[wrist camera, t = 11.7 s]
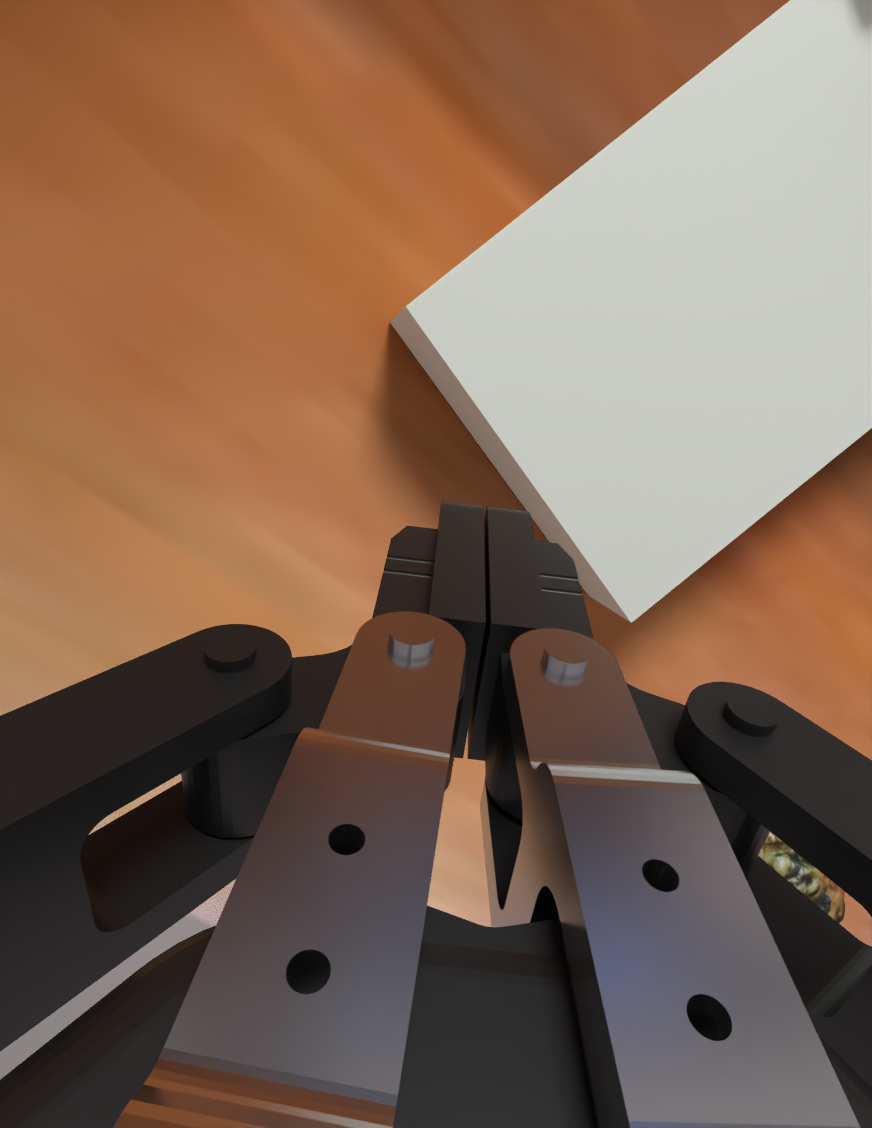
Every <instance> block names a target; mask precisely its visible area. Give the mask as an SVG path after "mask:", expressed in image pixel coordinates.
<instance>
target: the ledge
mask: <svg viewBox="0 0 872 1128" xmlns="http://www.w3.org/2000/svg"><path fill="white" fill-rule="evenodd" d="M390 323H391V325H392V326H393V327H394V329H395V330H396V332H397V333H398V334H399V336H400V337H401V338H402V340H403V341H404V343H405V344H406V345H407V347H408V348H409V349H410V351H411V352H412V354H413V355H414V356H415V358H416V359H417V360H418V362H419V363H420V365H421V366H422V367H423V369H424V370H425V371H426V373H427V374H428V376H429V377H430V378H431V380H432V381H433V383H434V384H435V385H436V387H437V388H438V389H439V391H440V392H441V394H442V395H443V396H444V398H445V399H446V400H447V402H448V403H449V405H450V406H451V407H452V409H453V410H454V411H455V413H456V414H457V416H458V417H459V418H460V420H461V421H462V422H463V424H464V425H465V427H466V428H467V429H468V431H469V432H470V433H471V435H472V436H473V438H474V439H475V440H476V442H477V443H478V445H479V446H480V447H481V449H482V450H483V451H484V453H485V454H486V456H487V457H488V458H489V460H490V461H491V462H492V464H493V465H494V467H495V468H496V469H497V471H498V472H499V473H500V475H501V476H502V478H503V479H504V480H505V482H506V483H507V484H508V486H509V487H510V489H511V490H512V491H513V493H514V494H515V495H516V497H517V498H518V500H519V501H520V502H521V504H522V505H523V506H524V508H525V509H526V511H528V512H530V515H531V518H532V519H533V520H534V522H535V523H536V524H537V526H538V527H539V529H540V530H541V531H542V533H543V534H544V535H545V537H546V538H547V540H548V541H549V542H551V543H558V544H559V545H560V546H561V547H562V548H563V549H564V550H565V551H566V552H567V553H568V555H569V556H570V557H571V558H572V559H573V560H574V563H575V567H576V571H577V575H578V581H579V583H580V585H581V586H582V588H583V589H584V591H585V592H586V593H587V595H588V596H590V597H591V598H593V599H594V600H596V601H598V602H599V603H601V604H602V605H604V606H605V607H607V608H609V609H610V610H612V611H613V612H615V613H616V614H618V615H620V616H621V617H623V618H624V619H626V620H628V621H629V622H631V623H632V622H633V621H634V620H636V619H637V618H638V617H639V616H640V615H642V614H643V613H644V612H645V611H647V610H648V609H649V608H650V607H652V606H653V605H654V604H655V603H656V602H658V601H659V600H660V599H661V598H663V597H664V596H665V595H666V594H668V593H669V592H670V591H671V590H672V589H674V588H675V587H676V586H677V585H679V584H680V583H681V582H682V581H684V580H685V579H686V578H687V577H689V576H690V575H691V574H692V573H693V572H695V571H696V570H697V569H698V568H700V567H701V566H702V565H703V564H705V563H706V562H707V561H708V560H709V559H711V558H712V557H713V556H714V555H716V554H717V553H718V552H719V551H721V550H722V549H723V548H724V547H725V546H727V545H728V544H729V543H730V542H732V541H733V540H734V539H735V538H737V537H738V536H739V535H740V534H742V533H743V532H744V531H745V530H746V529H748V528H749V527H750V526H751V525H753V524H754V523H755V522H756V521H758V520H759V519H760V518H761V517H762V516H764V515H765V514H766V513H767V512H769V511H770V510H771V509H772V508H774V507H775V506H776V505H777V504H778V503H780V502H781V501H782V500H783V499H785V498H786V497H787V496H788V495H790V494H791V493H792V492H793V491H795V490H796V489H797V488H798V487H799V486H801V485H802V484H803V483H804V482H806V481H807V480H808V479H809V478H811V477H812V476H813V475H814V474H815V473H817V472H818V471H819V470H820V469H822V468H823V467H824V466H825V465H827V464H828V463H829V462H830V461H831V460H833V459H834V458H835V457H836V456H838V455H839V454H840V453H841V452H843V451H844V450H845V449H846V448H848V447H849V446H850V445H851V444H852V443H854V442H855V441H856V440H857V439H859V438H860V437H861V436H862V435H864V434H865V433H866V432H867V431H868V430H870V429H871V428H872V0H790V1H789V2H788V3H786V4H785V5H784V6H783V7H781V8H780V9H779V10H777V11H776V12H775V13H774V14H772V15H771V16H770V17H769V18H767V19H766V20H765V21H764V22H762V23H761V24H760V25H759V26H757V27H756V28H755V29H754V30H752V31H751V32H750V33H749V34H747V35H746V36H745V37H744V38H742V39H741V40H740V41H739V42H737V43H736V44H735V45H734V46H732V47H731V48H730V49H728V50H727V51H726V52H725V53H723V54H722V55H721V56H720V57H718V58H717V59H716V60H715V61H713V62H712V63H711V64H710V65H708V66H707V67H706V68H705V69H703V70H702V71H701V72H700V73H698V74H697V75H696V76H695V77H693V78H692V79H691V80H690V81H688V82H687V83H686V84H685V85H683V86H682V87H681V88H679V89H678V90H677V91H676V92H674V93H673V94H672V95H671V96H669V97H668V98H667V99H666V100H664V101H663V102H662V103H661V104H659V105H658V106H657V107H656V108H654V109H653V110H652V111H651V112H649V113H648V114H647V115H646V116H644V117H643V118H642V119H641V120H639V121H638V122H637V123H636V124H634V125H633V126H632V127H631V128H629V129H628V130H627V131H625V132H624V133H623V134H622V135H620V136H619V137H618V138H617V139H615V140H614V141H613V142H612V143H610V144H609V145H608V146H607V147H605V148H604V149H603V150H602V151H600V152H599V153H598V154H597V155H595V156H594V157H593V158H592V159H590V160H589V161H588V162H587V163H585V164H584V165H583V166H582V167H580V168H579V169H578V170H576V171H575V172H574V173H573V174H571V175H570V176H569V177H568V178H566V179H565V180H564V181H563V182H561V183H560V184H559V185H558V186H556V187H555V188H554V189H553V190H551V191H550V192H549V193H548V194H546V195H545V196H544V197H543V198H541V199H540V200H539V201H538V202H536V203H535V204H534V205H533V206H531V207H530V208H529V209H527V210H526V211H525V212H524V213H522V214H521V215H520V216H519V217H517V218H516V219H515V220H514V221H512V222H511V223H510V224H509V225H507V226H506V227H505V228H504V229H502V230H501V231H500V232H499V233H497V234H496V235H495V236H494V237H492V238H491V239H490V240H489V241H487V242H486V243H485V244H484V245H482V246H481V247H480V248H478V249H477V250H476V251H475V252H473V253H472V254H471V255H470V256H468V257H467V258H466V259H465V260H463V261H462V262H461V263H460V264H458V265H457V266H456V267H455V268H453V269H452V270H451V271H450V272H448V273H447V274H446V275H445V276H443V277H442V278H441V279H440V280H438V281H437V282H436V283H435V284H433V285H432V286H431V287H429V288H428V289H427V290H426V291H424V292H423V293H422V294H421V295H419V296H418V297H417V298H416V299H414V300H413V301H412V302H411V303H409V304H408V305H407V306H406V307H405V308H404V309H403V310H402V311H401V312H400V313H398V314H397V315H396V316H395V317H394V318H393V319H392V320H391V321H390Z"/></svg>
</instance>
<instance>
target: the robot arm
mask: <svg viewBox="0 0 872 1128" xmlns="http://www.w3.org/2000/svg"><path fill="white" fill-rule="evenodd" d="M581 593H582V591H581V587H580V583H579V581H578V575H577V571H576V567H575V563H574V560H573V559H572V558H571V557H570V556H569V555H568V553H567V552H566V551H565V550H564V549H563V548H562V547H561V546H560V545H559V544H558V543H551V542H542V541H534V534H533V528H532V521H531V515H530V512H528V511H519V510H511V509H503V508H494V507H487V508H486V512H485V516H484V506H476V505H468V504H459V503H451V502H442V501H441V509H440V518H439V526H438V529H430V528H422V527H413V526H406V527H405V528H404V529H403V530H401V531H400V532H399V533H398V534H396V535H395V536H394V537H393V538H391V542H390V546H389V550H388V554H387V559H386V563H385V567H384V572H383V575H382V580H381V584H380V588H379V592H378V596H377V601H376V605H375V609H374V613H373V617H372V619H370V620H369V621H367V622H366V623H364V624H363V625H362V627H361V628H360V629H359V631H358V632H357V634H356V637H355V639H354V642H353V644H352V645H351V646H349V647H347V648H345V649H342V650H339V651H337V652H333V653H329V654H323V655H315V656H305V657H295V658H292V654H291V650H290V647H289V645H288V644H287V643H286V641H285V640H284V639H283V638H281V637H280V636H279V635H277V634H276V633H274V632H272V631H270V630H267V629H265V628H261V627H258V626H253V625H245V624H229V625H220V626H215V627H211V628H207V629H204V630H201V631H198V632H196V633H193V634H191V635H189V636H186V637H184V638H182V639H179V640H177V641H175V642H172V643H170V644H168V645H165V646H163V647H161V648H158V649H156V650H154V651H151V652H149V653H147V654H144V655H142V656H140V657H137V658H135V659H133V660H130V661H128V662H126V663H123V664H121V665H119V666H116V667H114V668H112V669H109V670H107V671H104V672H102V673H100V674H97V675H95V676H93V677H90V678H88V679H86V680H83V681H81V682H79V683H76V684H74V685H72V686H69V687H67V688H65V689H62V690H60V691H58V692H55V693H53V694H51V695H48V696H46V697H44V698H41V699H39V700H37V701H34V702H32V703H30V704H27V705H25V706H23V707H20V708H18V709H16V710H13V711H11V712H8V713H6V714H4V715H1V716H0V1051H1V1050H3V1049H4V1048H6V1047H7V1046H8V1045H10V1044H11V1043H13V1042H14V1041H15V1040H17V1039H18V1038H19V1037H21V1036H22V1035H23V1034H25V1033H26V1032H28V1031H29V1030H30V1029H32V1028H33V1027H34V1026H35V1025H37V1024H38V1023H40V1022H41V1021H42V1020H44V1019H45V1018H46V1017H48V1016H49V1015H51V1014H52V1013H53V1012H55V1011H56V1010H57V1009H59V1008H60V1007H62V1006H63V1005H64V1004H66V1003H67V1002H68V1001H69V1000H71V999H72V998H74V997H75V996H77V995H78V994H79V993H80V992H82V991H83V990H85V989H86V988H87V987H89V986H90V985H92V984H93V983H94V982H95V981H97V980H98V979H100V978H101V977H102V976H104V975H105V974H107V973H108V972H109V971H110V970H112V969H113V968H115V967H116V966H117V965H119V964H120V963H121V962H123V961H124V960H126V959H127V958H128V957H130V956H131V955H132V954H134V953H135V952H137V951H138V950H139V949H140V948H142V947H143V946H145V945H146V944H147V943H149V942H150V941H151V940H153V939H154V938H156V937H157V936H158V935H159V934H161V933H162V932H164V931H165V930H166V929H168V928H169V927H171V926H172V925H173V924H175V923H176V922H177V921H179V920H180V919H181V918H183V917H184V916H186V915H187V914H188V913H190V912H191V911H192V910H194V909H195V908H196V907H198V906H199V905H201V904H202V903H203V902H205V901H206V900H207V899H209V898H210V897H211V896H213V895H214V894H216V893H217V892H218V891H220V890H221V889H222V888H224V887H225V886H226V885H228V884H229V883H231V882H232V881H233V880H235V879H236V878H237V879H236V881H235V883H234V886H233V888H232V890H231V893H230V895H229V897H228V900H227V902H226V904H225V906H224V909H223V911H222V913H221V916H220V918H219V920H218V923H217V925H216V926H214V927H211V928H209V929H206V930H203V931H201V932H199V933H197V934H195V935H193V936H191V937H189V938H187V939H186V940H183V941H181V942H179V943H177V944H176V945H174V946H173V947H171V948H170V949H168V950H166V951H165V952H163V953H162V954H160V955H159V956H157V957H156V958H154V959H152V960H151V961H150V962H148V963H147V964H146V965H144V966H143V967H142V968H140V969H139V970H138V971H136V972H135V973H134V974H132V975H131V976H130V977H129V978H127V979H126V980H125V981H124V982H123V983H121V984H120V985H119V986H117V987H116V988H115V989H114V990H112V991H111V992H110V993H109V994H107V995H106V996H105V997H104V998H102V999H101V1000H100V1001H99V1002H97V1003H96V1004H95V1005H94V1006H92V1007H91V1008H90V1009H89V1010H88V1011H86V1012H85V1013H84V1014H82V1015H81V1016H80V1017H79V1018H77V1019H76V1020H75V1021H73V1022H72V1023H71V1024H70V1025H68V1026H67V1027H66V1028H65V1029H64V1030H62V1031H61V1032H60V1033H58V1034H57V1035H56V1036H55V1037H53V1038H52V1039H51V1040H50V1041H48V1042H47V1043H46V1044H45V1045H43V1046H42V1047H41V1048H40V1049H39V1050H37V1051H36V1052H35V1053H33V1054H32V1055H31V1056H30V1057H28V1058H27V1059H26V1060H25V1061H23V1062H22V1063H21V1064H20V1065H18V1066H17V1067H16V1068H15V1069H13V1070H12V1071H11V1072H10V1073H8V1074H7V1075H6V1076H5V1077H3V1078H2V1079H1V1080H0V1128H872V947H871V946H869V945H866V944H865V943H863V942H861V941H860V940H858V939H857V938H856V937H854V936H853V935H852V934H851V933H850V932H848V931H847V930H846V929H845V928H844V927H842V926H841V925H840V924H839V923H838V922H837V921H835V920H834V919H833V918H832V917H831V916H829V915H828V914H827V913H826V912H825V911H823V910H822V909H821V908H820V907H819V906H817V905H816V904H815V903H814V902H813V901H811V900H810V899H809V898H808V897H807V896H805V895H804V894H803V893H802V892H801V891H800V890H798V889H797V888H796V887H795V886H794V885H792V884H791V883H790V882H789V881H788V880H786V879H785V878H784V877H783V876H782V875H780V874H779V873H778V872H777V871H776V870H774V869H773V868H772V867H771V866H770V865H769V864H767V863H766V862H765V861H764V860H763V859H761V858H760V857H759V856H758V855H759V853H760V851H761V849H762V847H763V845H764V843H765V841H766V839H767V837H768V835H769V833H770V832H771V833H773V834H774V835H775V836H776V837H778V838H779V839H780V840H781V841H783V842H784V843H785V844H786V845H788V846H789V847H790V848H791V849H793V850H794V851H795V852H796V853H798V854H799V855H800V856H801V857H803V858H804V859H805V860H806V861H808V862H809V863H810V864H811V865H813V866H814V867H815V868H816V869H818V870H819V871H820V872H821V873H823V874H824V875H825V876H826V877H828V878H829V879H830V880H831V881H833V882H834V883H835V884H836V885H838V886H839V887H840V888H841V889H843V890H844V891H845V892H846V893H847V894H849V895H850V896H851V897H852V898H854V899H855V900H856V901H857V902H858V903H860V904H861V905H862V906H863V907H864V908H865V909H866V910H867V912H868V913H869V914H870V915H871V917H872V760H870V759H869V758H867V757H865V756H864V755H862V754H861V753H859V752H858V751H856V750H855V749H853V748H852V747H850V746H849V745H847V744H845V743H844V742H842V741H841V740H839V739H838V738H836V737H835V736H833V735H832V734H830V733H829V732H827V731H825V730H824V729H822V728H821V727H819V726H818V725H816V724H815V723H813V722H812V721H810V720H809V719H807V718H805V717H804V716H802V715H801V714H799V713H798V712H796V711H795V710H793V709H792V708H790V707H789V706H787V705H785V704H784V703H782V702H781V701H779V700H777V699H776V698H774V697H772V696H770V695H768V694H766V693H764V692H762V691H760V690H757V689H754V688H752V687H748V686H745V685H741V684H736V683H730V682H711V683H706V684H703V685H700V686H698V687H697V688H695V689H694V690H693V691H692V692H691V693H690V695H689V697H688V700H687V703H686V705H683V704H680V703H677V702H674V701H671V700H668V699H664V698H661V697H658V696H655V695H652V694H650V693H647V692H644V691H642V690H639V689H637V688H635V687H633V686H631V685H629V684H628V683H626V681H625V679H624V676H623V674H622V671H621V669H620V666H619V664H618V662H617V660H616V658H615V657H614V656H613V654H612V653H611V652H610V651H609V650H608V649H607V648H605V647H604V646H603V645H601V644H600V643H598V642H597V641H595V640H594V639H593V635H592V631H591V627H590V623H589V619H588V615H587V611H586V607H585V603H584V599H583V596H582V595H581ZM467 731H468V759H475V760H484V761H485V766H486V777H485V782H484V787H483V792H482V797H481V802H480V812H481V823H482V833H483V843H484V854H485V864H486V875H487V885H488V895H489V906H490V916H491V927H485V926H482V925H478V924H476V923H473V922H470V921H467V920H465V919H462V918H459V917H457V916H454V915H451V914H448V913H446V912H443V911H440V910H438V909H435V908H432V907H429V906H427V902H428V895H429V889H430V882H431V876H432V869H433V862H434V856H435V849H436V843H437V836H438V830H439V823H440V817H441V810H442V803H443V797H444V792H445V790H446V789H447V788H448V785H449V783H450V779H451V773H452V767H453V761H454V757H456V758H463V755H464V749H465V743H466V737H467ZM180 773H181V775H182V781H181V782H179V783H177V784H176V785H174V786H172V787H171V788H169V789H167V790H165V791H164V792H162V793H160V794H159V795H157V796H155V797H153V798H152V799H150V800H148V801H147V802H145V803H143V804H141V805H140V806H138V807H136V808H135V809H133V810H131V811H129V812H128V813H126V814H124V815H123V816H121V817H119V818H117V819H116V820H114V821H112V822H111V823H109V824H107V825H105V826H104V827H102V828H100V829H99V830H97V831H95V832H93V833H92V834H90V835H88V834H89V833H90V832H91V831H92V829H93V828H94V827H95V826H96V825H97V824H98V823H99V822H100V821H101V820H103V819H104V818H105V817H106V816H108V815H110V814H111V813H113V812H114V811H116V810H118V809H120V808H121V807H123V806H125V805H126V804H128V803H130V802H132V801H133V800H135V799H137V798H139V797H140V796H142V795H144V794H146V793H147V792H149V791H151V790H153V789H154V788H156V787H158V786H160V785H161V784H163V783H165V782H167V781H168V780H170V779H172V778H174V777H175V776H177V775H179V774H180Z"/></svg>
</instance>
